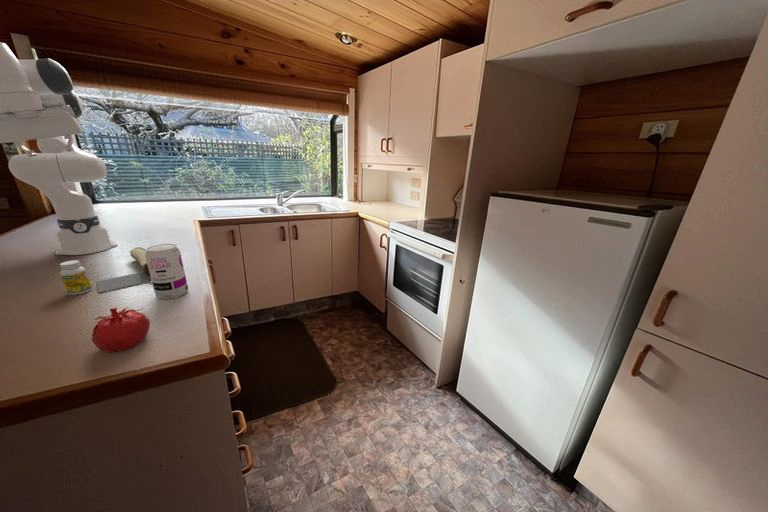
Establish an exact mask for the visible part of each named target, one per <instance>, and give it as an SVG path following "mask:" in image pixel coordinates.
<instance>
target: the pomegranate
mask: <svg viewBox="0 0 768 512" xmlns="http://www.w3.org/2000/svg"><path fill="white" fill-rule="evenodd" d="M129 308H130V307H125V308H122V310H120V311H119V310H118V311H117V309H118V308H117V307H112V308H109V311H110V313H111V315H108V316H98V317H97V318H94V319H93V320H95V321H97V320H98V321H97V323H96V325H95V326H94V327H93V329H92V335H91V342H92V343H93V344H94V345H95V347H96V348H97V349H99V351H102V352H106V353H115V352H119V351H123V352H125V351H127V350H130V349H132V348H134V347H135V346H137V345H138V344H139V343H141V342H143V340H144V339H145V338H146V336H147V335H148V333H149V330H150V326H151V325H150V324H151V322H150V319H149V318H148V317H147V316H146V315H145V314H144V313H142V312H138V311H140V309H132V308H131V309H129ZM99 319H100V320H99Z"/></svg>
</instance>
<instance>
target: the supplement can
mask: <svg viewBox="0 0 768 512" xmlns="http://www.w3.org/2000/svg"><path fill="white" fill-rule="evenodd" d="M145 250H146V253H145V257H146V261H147V265H148V269H149V272H150V276H151V280H152V282H151V283H152V288H153V291H154V294H155V297H156V298H159V299H160V300H172V298H173V299H176V297H177V298H179V297H178V296H180V297H182V296H184V295H185V294H186V293H187V292H189V291H188V290H189V287H188V283H187V281H188V280H187V278H186V271H185V267H184V264H183V259H182V253H181V250H180V249H179V247H178V246H177V245H176V244H173V243H163V244H156V245H152V246H149V247H147V248H146V249H145ZM185 292H186V293H185ZM184 293H185V294H184ZM183 294H184V295H183ZM181 295H182V296H181Z"/></svg>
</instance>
